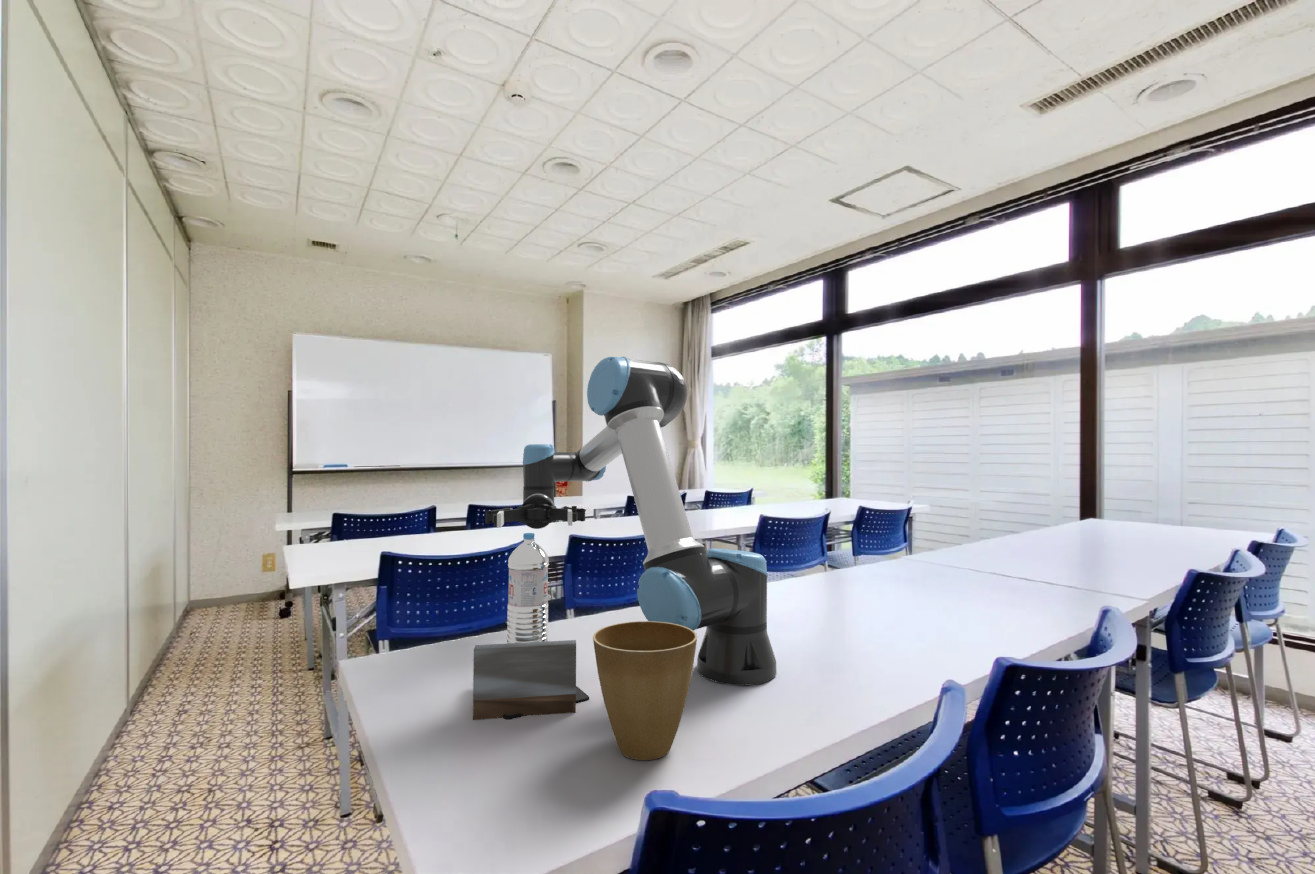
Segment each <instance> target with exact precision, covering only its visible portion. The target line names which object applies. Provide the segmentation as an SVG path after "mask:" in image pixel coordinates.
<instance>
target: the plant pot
mask: <svg viewBox="0 0 1315 874" xmlns="http://www.w3.org/2000/svg"><path fill="white" fill-rule="evenodd" d="M592 640H593V641H592V642H593V648H594V649H593V650H594V656H595V661H596V663H595V664H596V668H597V675H598V681H599V686H600V690H601V694H602V698H603V703H604V707H605V711H606V713H607V718H608V720H609V721H608V722H609V724H610V727H611V730H612V732H613V736H614V739H615V742H616V744H617V747H618V750H619V751H620V753H621V754H622V755H623V756H625V757H627V758H629V759H632V760H637V761H652V760H657V759H661V758H663V757H664V756H666V755H667V754H668V753H670V751H671V749H672V746H673V744H674V741H675V738H676V736H677V732H678V729H679V727H680V723H681V721H682V720H681V719H682V717H683V714H684V713H683V712H684V709H685V706H686V702H687V698H688V695H689V694H688V693H689V690H690V689H689V688H690V684H691V680H692V673H693V669H694V668H693V667H694V662H695V655H696V649H697V641H698V635H697V633H696V632H695V630H694V631H693V630H692V629H690V628H687V627H685V626H681V625H677V624H673V623H666V622H655V621H648V620H645V621H644V620H642V621H638V620H637V621H627V622H626V621H625V622H619V623H616V624H615V623H614V624H611V625H607V626H604V627H601V628H600V629H598V630H596V631H595V633H594V634H593V636H592Z"/></svg>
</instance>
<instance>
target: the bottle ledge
mask: <svg viewBox="0 0 1315 874" xmlns="http://www.w3.org/2000/svg"><path fill="white" fill-rule="evenodd" d="M472 666H473V670H472V671H473V675H472V677H473V679H472V680H473V682H472V689H473V691H472V721H477V720H479V721H480V720H491V719H494V720H495V719H504V718H503V714H518V713H521V714H523V716H524V717H534V716H546V715H559V714H560V715H561V714H563V715H564V714H575V713H576V712H577V704H576V686H577V640H576V639H570V640H568V639H567V640H552V641H551V640H548V641H546V642H527V643H507V642H506V643H492V644H490V643H489V644H475V645H474V647H473V665H472Z"/></svg>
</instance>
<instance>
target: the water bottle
mask: <svg viewBox="0 0 1315 874" xmlns="http://www.w3.org/2000/svg"><path fill="white" fill-rule="evenodd" d="M522 536H523V541H522V543H521V544H519V545H518V546H517V547H516V548H515V549H514V550H513V551H512V552H511V553H510V555H509V557H508V560H507V562H508V563H507V566H508V567H507V568H508V592H507V594H508V595H507V596H508V597H507V598H508V599H507V601H508V603H507V619H506V620H507V623H506V625H507V628H506V630H507V631H506V633H507V634H506V644H507V643H527V642H546V641H549V640H548V639H549V637H548V633H549V629H548V628H549V602H548V600H549V598H548V597H549V595H548V591H549V589H548V587H549V585H548V584H549V583H548V579H549V577H548V576H549V575H548V574H549V573H548V572H549V565H550V563H549V556H548V554H547V552H546V551H545V550H544V549H543V547H541V546H540V545H539V544H538V543H536V542H534V540H535V532H525V533H523V535H522Z"/></svg>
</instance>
